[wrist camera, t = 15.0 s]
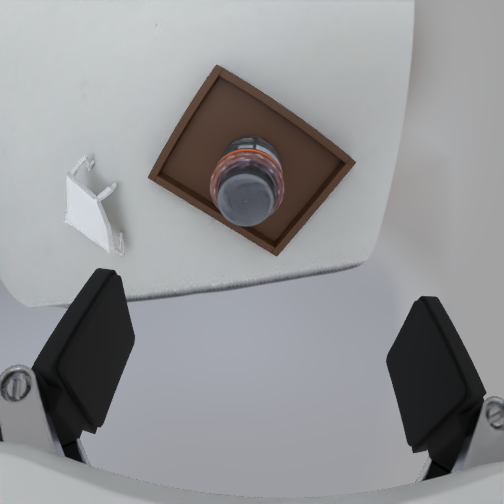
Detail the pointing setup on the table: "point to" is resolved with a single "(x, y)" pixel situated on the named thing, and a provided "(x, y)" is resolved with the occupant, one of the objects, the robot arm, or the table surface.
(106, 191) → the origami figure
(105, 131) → the table surface
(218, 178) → the supplement bottle
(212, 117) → the serving tray
